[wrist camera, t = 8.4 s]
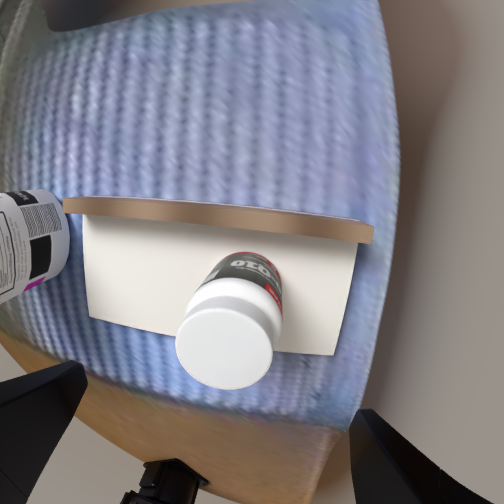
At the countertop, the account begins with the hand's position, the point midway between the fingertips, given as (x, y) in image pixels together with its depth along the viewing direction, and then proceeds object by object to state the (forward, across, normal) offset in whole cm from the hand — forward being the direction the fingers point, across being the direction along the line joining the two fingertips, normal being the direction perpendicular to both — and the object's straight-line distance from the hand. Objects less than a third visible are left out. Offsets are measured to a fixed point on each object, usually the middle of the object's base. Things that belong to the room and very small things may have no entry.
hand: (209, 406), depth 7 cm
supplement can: (+13, +19, -1) cm, 23 cm away
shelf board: (+13, +3, 0) cm, 13 cm away
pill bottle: (+12, 0, 0) cm, 12 cm away
